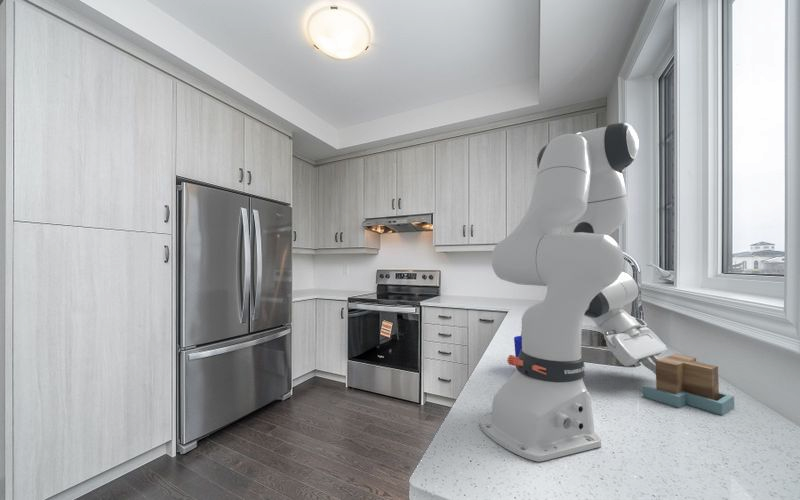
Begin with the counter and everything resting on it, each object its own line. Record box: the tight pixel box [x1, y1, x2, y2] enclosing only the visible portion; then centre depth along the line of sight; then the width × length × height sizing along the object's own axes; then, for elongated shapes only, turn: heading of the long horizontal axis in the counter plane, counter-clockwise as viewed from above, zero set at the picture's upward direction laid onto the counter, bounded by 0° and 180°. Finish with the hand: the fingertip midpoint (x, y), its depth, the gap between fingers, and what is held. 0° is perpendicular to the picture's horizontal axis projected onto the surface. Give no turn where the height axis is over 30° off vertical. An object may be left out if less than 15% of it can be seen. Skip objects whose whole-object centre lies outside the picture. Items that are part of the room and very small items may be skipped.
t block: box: [655, 353, 720, 401], centre depth 74 cm, size 12×9×9 cm
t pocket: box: [642, 385, 735, 416], centre depth 74 cm, size 16×13×2 cm
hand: (663, 374), depth 78 cm, fingers closed, pressing on t block
